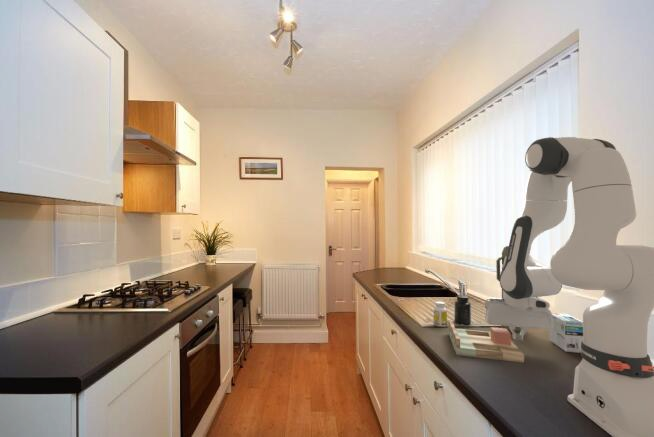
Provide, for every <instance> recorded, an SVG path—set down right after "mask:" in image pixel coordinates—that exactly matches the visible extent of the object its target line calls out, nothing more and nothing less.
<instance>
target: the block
mask: <svg viewBox="0 0 654 437" xmlns="http://www.w3.org/2000/svg"><path fill="white" fill-rule="evenodd" d="M490 332H491V339H492V340H493V342H494V343H495V344H505V345H511V341H512V334H511V333H512V332H509V331H508V330H507V329H505V328H501V327H494V326H493V327H491V326H490Z"/></svg>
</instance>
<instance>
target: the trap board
mask: <svg viewBox="0 0 654 437" xmlns="http://www.w3.org/2000/svg"><path fill="white" fill-rule="evenodd" d="M448 337H449V339H450V342H451V345H452V347H453V350H454V352H455V354H456V356H462V357H463V356H465V357H473V358H479V359H480V358H481V359H490V360H497V361H498V360H499V361H506V362H515V363H516V362H517V363H523V364H524V363H525V354H524V353H523V352H522V351H521V349H519V347H518V345H516V344H515V343H514V342H513V341H512V340H511V345H505V344H495V343H494V342H493V340H492V339H491V331H488V330H487V331H484V330H474V329H463V328H456V327H455V325H454V322H453V320H448Z"/></svg>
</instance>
